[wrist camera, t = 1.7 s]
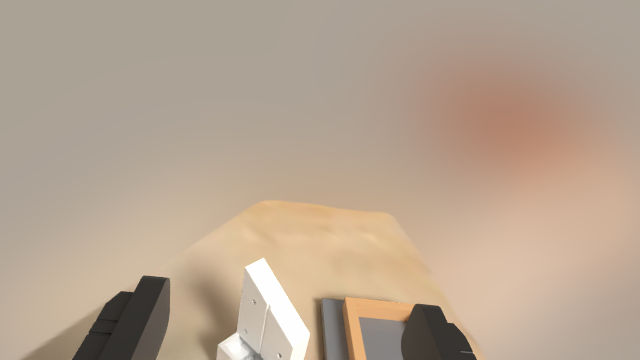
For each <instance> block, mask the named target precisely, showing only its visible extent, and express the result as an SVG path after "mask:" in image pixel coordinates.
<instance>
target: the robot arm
mask: <svg viewBox="0 0 640 360" xmlns="http://www.w3.org/2000/svg"><path fill="white" fill-rule="evenodd" d="M169 313H170V279H169V278H164V277H154V276H143V277H142V278H141V280H140V282H139V284H138V286H137V287H136V289H135V291H134V292H124V291H121V292H120V293H118V294H117V295H116V296H115V297H113V298H112V299H111V300H110V301H109V302H107V303H106V304H105V306H104V308H103V309H102V311H101V313H100V314H99V316H98V318H97V321H96V322H95V323H94V324H93V326H92V328H91V329H90V331H89V334H88V335H87V336H86V338H85V339H84V341H83V343H82V344H81V346H80V347H79V349H78V351H77V352H76V354H75V356H74V357H73V359H72V360H156V357H157V355H158V352H159V349H160V347H161V344H162V341H163V339H164V336H165V333H166V330H167V326H168V321H169ZM401 352H402V357H403V360H477V359H476V357H475V355H474V354H473V351H472V349H471V347H470V345H469V343H468V341H467V339H466V337H465V336H464V335H463V333H462V332H461V331H460V330H459V329H458V328H457V327H456V326H455V325H454V323H447V320H446V318H445V316H444V314H443V312H442V310H441V308H440V307H439V306H435V305H425V304H415V305H414V307H413V309H412V312H411V314H410V316H409V319H408V321H407V324H406V326H405V329H404V331H403V334H402V338H401Z"/></svg>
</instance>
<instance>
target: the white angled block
mask: <svg viewBox="0 0 640 360" xmlns="http://www.w3.org/2000/svg"><path fill="white" fill-rule="evenodd" d="M309 336H310V333H309V331H308V330H307V328H306V327H305V325H304V323H303V322H302V320H301V318H300V317H299V315H298V313H297V312H296V310H295V308H294V307H293V305H292V304H291V302H290V300H289V299H288V297H287V295H286V294H285V292H284V290H283V289H282V287H281V286H280V284H279V282H278V281H277V279H276V277H275V276H274V274H273V272H272V271H271V269H270V267H269V266H268V264H267V263H266V261H265V259H264V258H262V259H260V260H258V261H256V262H254V263H253V264H251V265H249V266H247V267H245V273H244V281H243V288H242V295H241V303H240V310H239V317H238V324H237V332H236V333H235V334H233V335H232V336H230V337H229V338H227V339H226V340H224V341H223V342H221V343H220V344H218V349H217V358H216V360H303V359H304V356H305V352H306V348H307V344H308V340H309Z"/></svg>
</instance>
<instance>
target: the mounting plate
mask: <svg viewBox="0 0 640 360" xmlns="http://www.w3.org/2000/svg"><path fill="white" fill-rule="evenodd" d="M414 305H415V304H407V303H398V302H389V301H379V300H370V299H361V298H351V297H345V299H344V301H341V300H332V299H322V302H321V305H320V306H321V319H322V332H323V345H324V358H325V360H403V357H402V352H401V338H402V334H403V331H404V329H405V326H406V324H407V321H408V319H409V316H410V314H411V312H412V309H413V307H414Z"/></svg>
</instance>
